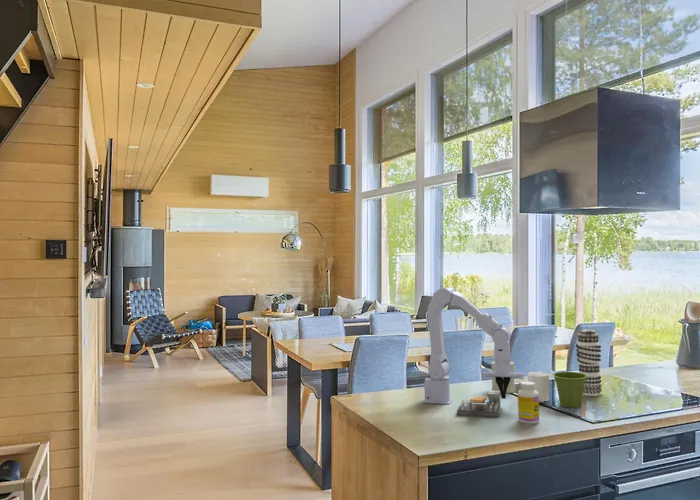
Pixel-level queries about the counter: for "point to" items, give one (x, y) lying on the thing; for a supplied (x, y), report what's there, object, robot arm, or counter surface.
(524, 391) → the supplement bottle
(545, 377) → the white cup
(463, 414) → the heatsink block
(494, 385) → the can
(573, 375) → the plant pot
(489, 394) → the block
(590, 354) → the decorative candle
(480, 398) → the orange rectangular bar
